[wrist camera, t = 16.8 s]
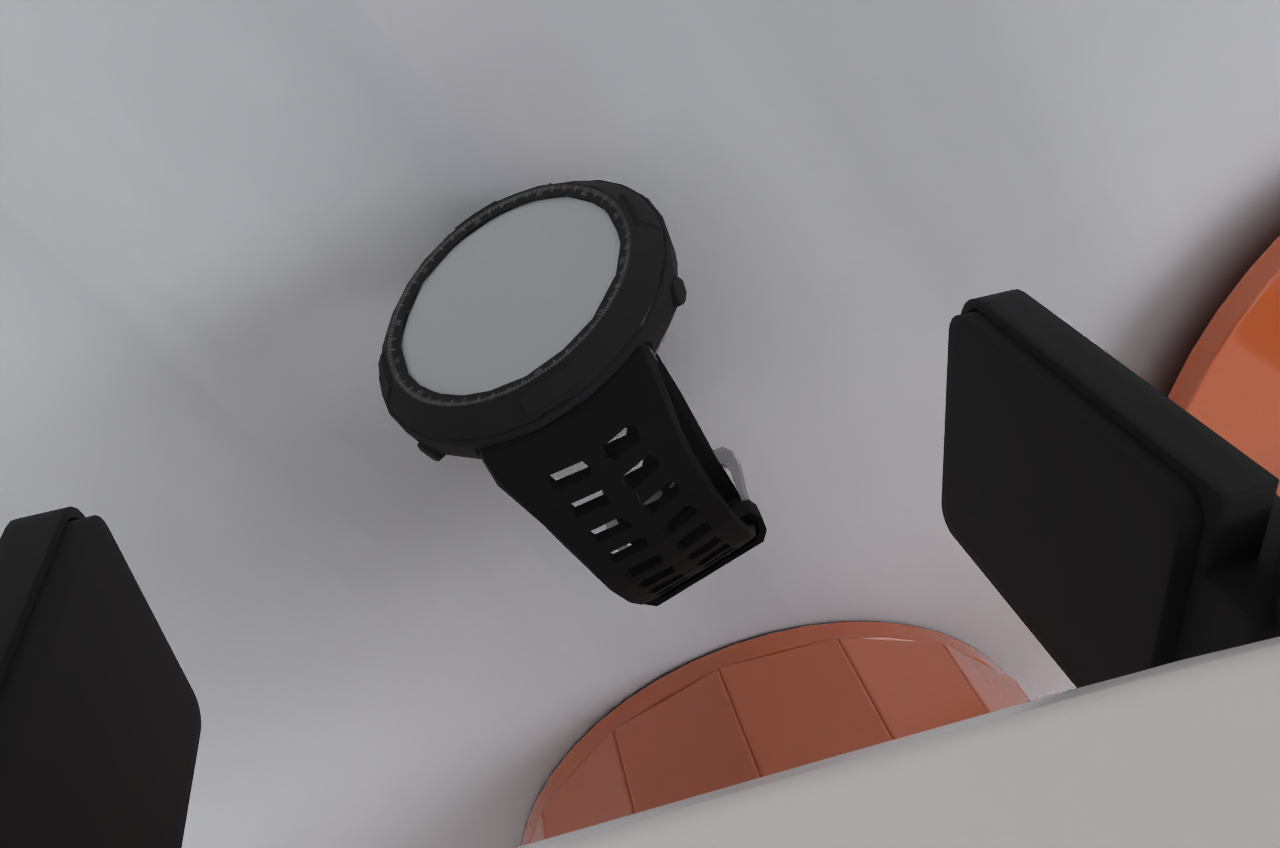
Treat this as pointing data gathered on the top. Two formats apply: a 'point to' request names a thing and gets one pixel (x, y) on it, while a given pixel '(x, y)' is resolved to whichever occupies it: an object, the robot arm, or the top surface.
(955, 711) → the pot
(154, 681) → the robot arm
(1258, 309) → the lid
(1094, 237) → the top surface
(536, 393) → the smartwatch
